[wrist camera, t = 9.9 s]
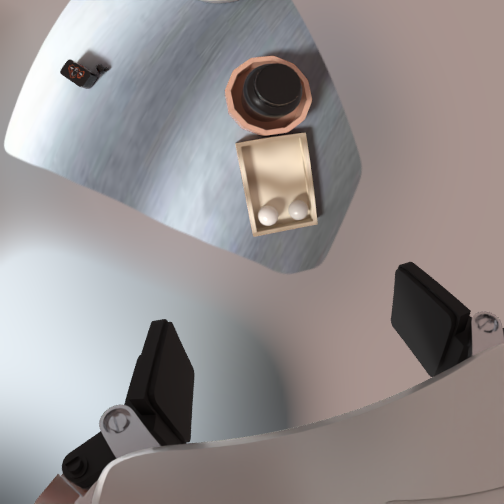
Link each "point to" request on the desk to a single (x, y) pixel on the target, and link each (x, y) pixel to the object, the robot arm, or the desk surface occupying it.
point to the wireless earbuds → (81, 73)
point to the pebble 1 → (268, 215)
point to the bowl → (255, 126)
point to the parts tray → (277, 180)
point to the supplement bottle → (271, 92)
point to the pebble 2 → (298, 210)
